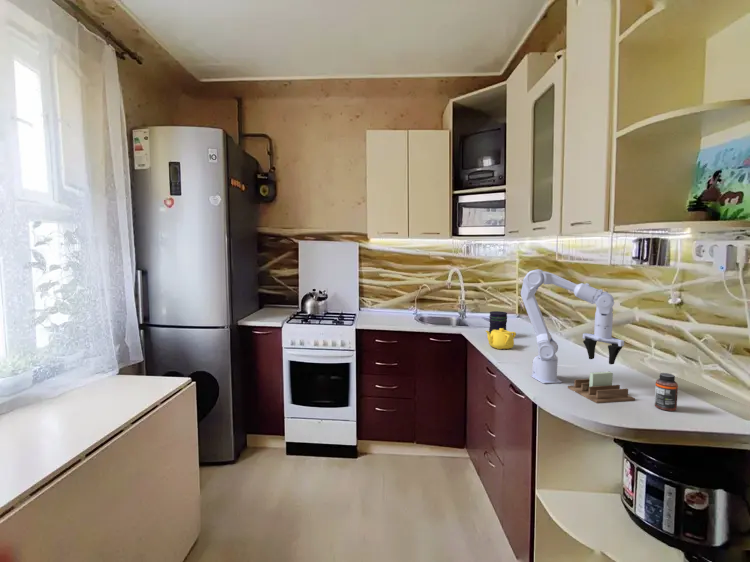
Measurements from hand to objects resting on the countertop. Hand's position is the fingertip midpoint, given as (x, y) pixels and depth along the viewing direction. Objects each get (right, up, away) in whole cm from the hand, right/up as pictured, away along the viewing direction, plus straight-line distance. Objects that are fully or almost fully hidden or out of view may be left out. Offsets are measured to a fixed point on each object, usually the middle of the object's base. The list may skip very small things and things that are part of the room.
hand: (601, 361), depth 151 cm
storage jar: (-13, -4, +86) cm, 87 cm away
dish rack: (-3, -11, -5) cm, 12 cm away
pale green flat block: (-3, -10, -5) cm, 12 cm away
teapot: (-19, -5, +62) cm, 65 cm away
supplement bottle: (+11, -12, -17) cm, 24 cm away
